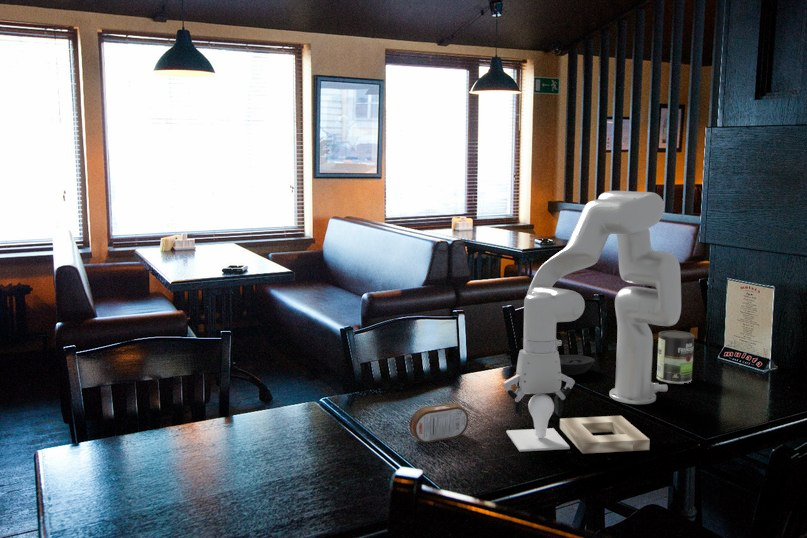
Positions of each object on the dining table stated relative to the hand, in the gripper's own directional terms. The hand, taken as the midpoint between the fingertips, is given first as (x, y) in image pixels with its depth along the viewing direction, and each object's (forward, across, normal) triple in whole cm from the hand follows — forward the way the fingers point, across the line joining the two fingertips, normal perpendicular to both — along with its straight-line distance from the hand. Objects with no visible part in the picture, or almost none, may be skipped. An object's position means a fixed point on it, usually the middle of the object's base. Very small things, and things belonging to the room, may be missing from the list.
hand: (538, 415), depth 176 cm
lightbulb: (+6, -1, 0) cm, 6 cm away
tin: (+6, +23, -4) cm, 24 cm away
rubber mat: (+6, 0, 0) cm, 6 cm away
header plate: (+6, -16, +1) cm, 17 cm away
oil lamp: (+7, -25, -52) cm, 58 cm away
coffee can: (+7, -56, -42) cm, 70 cm away
